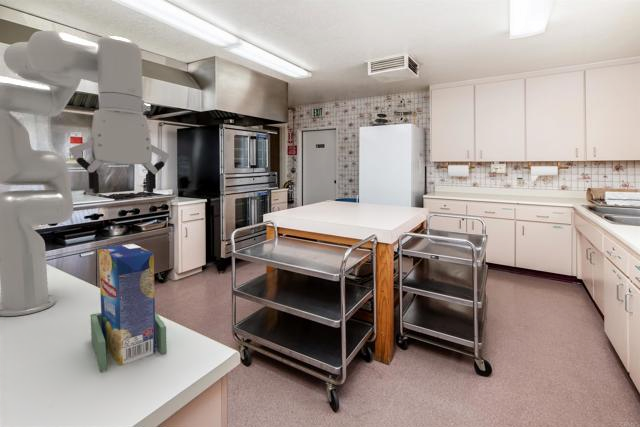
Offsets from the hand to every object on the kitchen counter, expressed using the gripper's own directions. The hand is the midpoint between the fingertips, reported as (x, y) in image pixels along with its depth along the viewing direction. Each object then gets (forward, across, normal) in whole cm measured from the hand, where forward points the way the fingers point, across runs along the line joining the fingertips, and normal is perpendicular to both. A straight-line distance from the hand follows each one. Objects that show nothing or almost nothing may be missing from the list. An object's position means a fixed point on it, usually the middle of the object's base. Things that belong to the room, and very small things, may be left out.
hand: (124, 192), depth 69 cm
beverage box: (+34, 0, 0) cm, 34 cm away
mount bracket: (+34, 0, -1) cm, 34 cm away
